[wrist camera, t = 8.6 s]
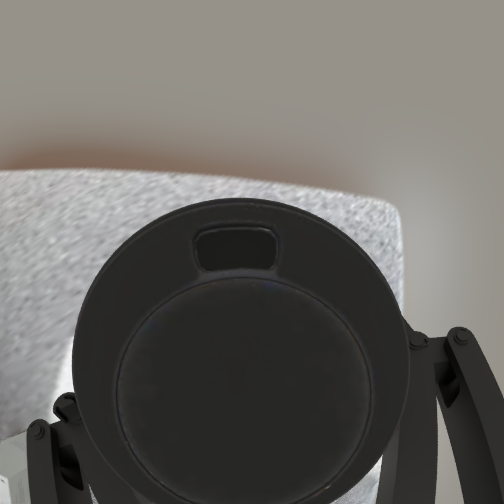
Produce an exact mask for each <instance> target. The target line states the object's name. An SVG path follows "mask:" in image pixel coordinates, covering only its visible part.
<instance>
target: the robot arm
mask: <svg viewBox="0 0 504 504" xmlns="http://www.w3.org/2000/svg"><path fill="white" fill-rule="evenodd" d="M402 317H403V316H402ZM403 320H404V324H405V327H406V332H407V337H408V342H409V351H410V381H409V389H408V395H407V400H406V404H405V407H404V411H403V414H402V417H401V420H400V423H399V425H398V427H397V430H396V432H395V434H394V436H393V438H392V440H391V442H390V443H389V445H388V447H387V449H386V450H385V452H384V453H383V456H382V465H381V472H380V480H379V486H378V493H377V499H376V504H435V494H436V480H437V456H438V427H437V426H438V425H437V400H436V396H437V399H438V402H439V405H440V408H441V411H442V414H443V418H444V422H445V425H446V428H447V432H448V435H449V439H450V443H451V446H452V450H453V454H454V458H455V462H456V466H457V471H458V475H459V480H460V484H461V489H462V494H463V499H464V504H504V398H503V395H502V393H501V391H500V388H499V386H498V384H497V382H496V379H495V377H494V375H493V373H492V371H491V369H490V367H489V364H488V362H487V360H486V358H485V356H484V354H483V352H482V350H481V348H480V346H479V344H478V342H477V340H476V338H475V337H474V335H473V334H472V332H471V331H470V330H468V329H467V328H464V327H454V328H452V329H451V330H450V331H449V332H448V334H447V336H446V337H437V338H428V337H427V336H426V335H425V334H423V333H421V332H417V331H414V330H413V329H412V328H411V327H410V325H409V324H408V323H407V322H406V320H405V319H404V318H403ZM53 413H54V414H55V415H56V416H57V417H58V418H59V419H60V420H61V421H58V422H55V423H52V424H49V423H48V422H47V421H45V420H43V419H37V420H35V421H33V422H32V423H31V424H30V425H29V427H28V429H27V434H26V447H27V469H28V482H29V492H30V501H31V504H93V502H92V498H91V493H90V489H89V485H90V487H91V489H92V491H93V494H94V496H95V498H96V500H97V502H98V504H154V503H152V502H150V501H149V500H147V499H146V498H144V497H143V496H141V495H140V494H138V493H137V492H136V491H135V490H133V489H132V488H131V487H130V486H128V485H127V484H126V483H125V482H124V481H123V480H122V479H121V478H120V477H119V476H118V475H117V474H116V473H115V472H114V471H113V470H112V469H111V467H110V466H109V465H108V464H107V463H106V461H105V460H104V459H103V457H102V456H101V454H100V453H99V452H98V450H97V448H96V447H95V445H94V443H93V442H92V440H91V438H90V436H89V434H88V432H87V430H86V428H85V426H84V423H83V421H82V418H81V415H80V412H79V409H78V405H77V402H76V398H75V393H74V392H67V393H64V394H62V395H61V396H60V397H58V398H57V400H56V401H55V403H54V406H53ZM88 483H89V484H88Z"/></svg>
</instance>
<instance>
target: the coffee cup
mask: <svg viewBox="0 0 504 504" xmlns="http://www.w3.org/2000/svg"><path fill="white" fill-rule="evenodd" d="M72 378H73V386H74V392H75V398H76V402H77V405H78V409H79V412H80V415H81V418H82V421H83V423H84V426H85V428H86V430H87V432H88V434H89V436H90V438H91V440H92V442H93V443H94V445H95V447H96V448H97V450H98V452H99V453H100V454H101V456H102V457H103V459H104V460H105V461H106V463H107V464H108V465H109V466H110V467H111V469H112V470H113V471H114V472H115V473H116V474H117V475H118V476H119V477H120V478H121V479H122V480H123V481H124V482H125V483H126V484H127V485H128V486H130V487H131V488H132V489H133V490H135V491H136V492H137V493H138V494H140V495H141V496H143V497H144V498H146V499H147V500H149V501H150V502H152V503H154V504H330V503H332V502H333V501H335V500H336V499H338V498H339V497H341V496H342V495H344V494H345V493H346V492H348V491H349V490H350V489H351V488H353V487H354V486H355V485H356V484H357V483H358V482H359V481H360V480H361V479H362V478H363V477H364V476H365V475H366V474H367V473H368V472H369V471H370V470H371V469H372V468H373V466H374V465H375V464H376V463H377V462H378V460H379V459H380V457H381V456H382V455H383V453H384V452H385V450H386V449H387V447H388V445H389V443H390V442H391V440H392V438H393V436H394V434H395V432H396V430H397V427H398V425H399V423H400V420H401V417H402V414H403V411H404V407H405V404H406V400H407V395H408V389H409V381H410V351H409V342H408V337H407V332H406V327H405V324H404V320H403V317H402V314H401V311H400V309H399V306H398V303H397V301H396V298H395V296H394V294H393V292H392V290H391V288H390V286H389V284H388V282H387V280H386V279H385V277H384V276H383V274H382V273H381V271H380V270H379V268H378V267H377V265H376V264H375V263H374V262H373V260H372V259H371V258H370V257H369V255H368V254H367V253H366V252H365V251H364V250H363V249H362V248H361V247H360V246H359V245H358V244H357V243H356V242H355V241H353V240H352V239H351V238H350V237H349V236H348V235H346V234H345V233H344V232H342V231H341V230H339V229H338V228H337V227H335V226H334V225H332V224H330V223H329V222H327V221H325V220H324V219H322V218H320V217H318V216H316V215H314V214H312V213H310V212H307V211H305V210H302V209H300V208H297V207H294V206H291V205H287V204H284V203H280V202H275V201H270V200H265V199H255V198H224V199H215V200H209V201H203V202H199V203H196V204H192V205H188V206H185V207H182V208H180V209H177V210H174V211H172V212H170V213H168V214H165V215H163V216H161V217H159V218H158V219H156V220H154V221H152V222H151V223H149V224H147V225H146V226H144V227H143V228H141V229H140V230H139V231H137V232H136V233H134V234H133V235H132V236H131V237H130V238H129V239H127V240H126V241H125V242H124V243H123V244H122V245H121V246H120V247H119V248H118V249H117V250H116V251H115V252H114V253H113V254H112V255H111V257H110V258H109V259H108V260H107V261H106V263H105V264H104V265H103V267H102V268H101V270H100V271H99V273H98V274H97V276H96V277H95V279H94V281H93V283H92V284H91V286H90V288H89V290H88V292H87V295H86V297H85V299H84V302H83V304H82V307H81V310H80V313H79V317H78V321H77V325H76V330H75V335H74V341H73V350H72Z"/></svg>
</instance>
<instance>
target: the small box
mask: <svg viewBox="0 0 504 504" xmlns="http://www.w3.org/2000/svg"><path fill="white" fill-rule="evenodd" d="M26 434H27V431H25V432H23V433H20V434H18V435H16V436H13V437H10V438H8V439H5V440H3V441H0V504H31V501H30V492H29V482H28V469H27V447H26Z"/></svg>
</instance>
